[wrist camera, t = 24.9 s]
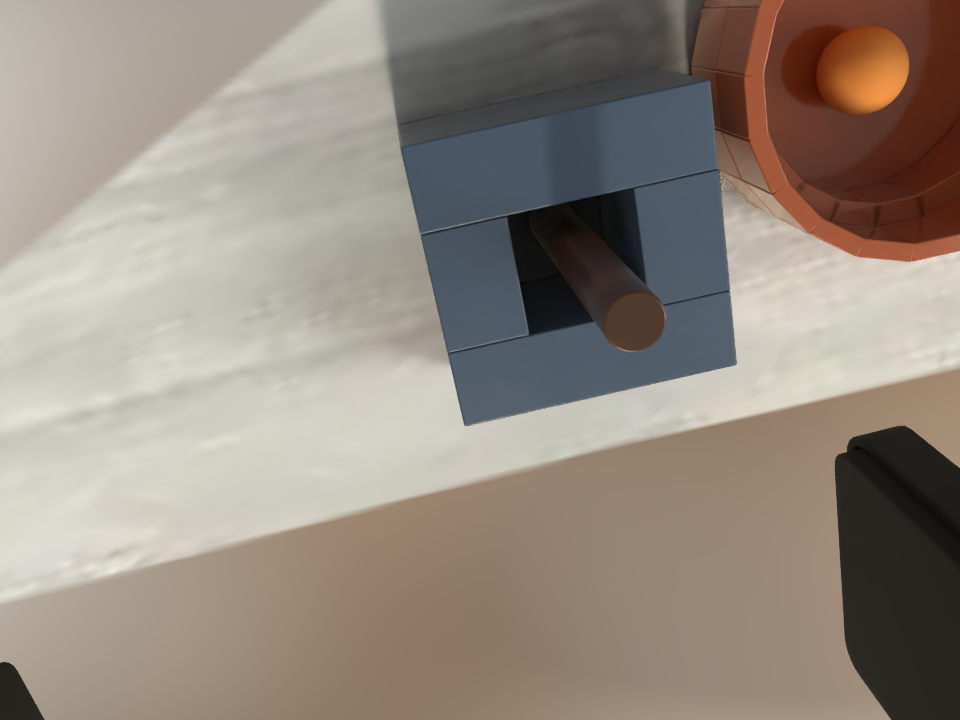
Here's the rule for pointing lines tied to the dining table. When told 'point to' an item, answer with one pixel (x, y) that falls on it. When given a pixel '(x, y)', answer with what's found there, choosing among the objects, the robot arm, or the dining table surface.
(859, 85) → the ball
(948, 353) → the dining table surface
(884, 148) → the bowl
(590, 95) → the holder
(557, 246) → the stick
